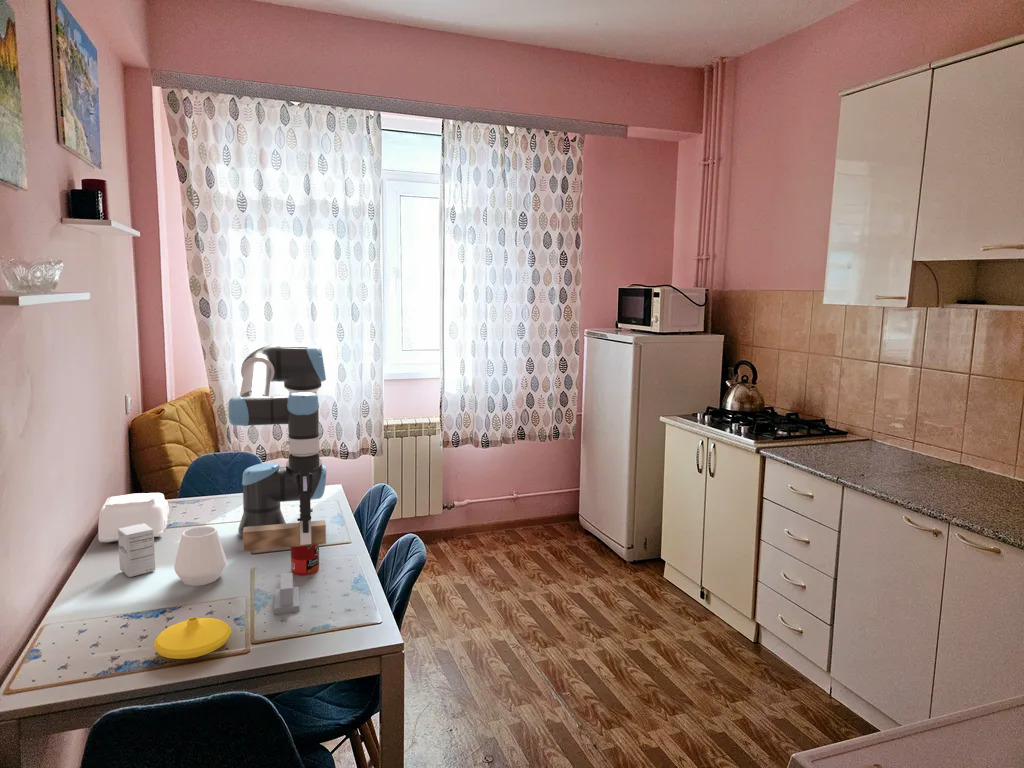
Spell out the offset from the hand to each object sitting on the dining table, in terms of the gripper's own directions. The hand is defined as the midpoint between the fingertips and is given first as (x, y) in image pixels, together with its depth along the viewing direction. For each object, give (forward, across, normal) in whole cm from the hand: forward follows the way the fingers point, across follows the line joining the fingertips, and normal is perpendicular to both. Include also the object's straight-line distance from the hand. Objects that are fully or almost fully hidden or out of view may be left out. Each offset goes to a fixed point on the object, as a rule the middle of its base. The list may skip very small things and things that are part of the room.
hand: (305, 540), depth 173 cm
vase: (+17, +18, -25) cm, 35 cm away
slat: (+1, 0, -5) cm, 5 cm away
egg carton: (+17, -72, -54) cm, 92 cm away
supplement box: (+17, -33, -46) cm, 59 cm away
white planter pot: (+17, -22, -28) cm, 39 cm away
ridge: (+16, 0, -5) cm, 17 cm away
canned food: (+17, -20, 0) cm, 26 cm away
